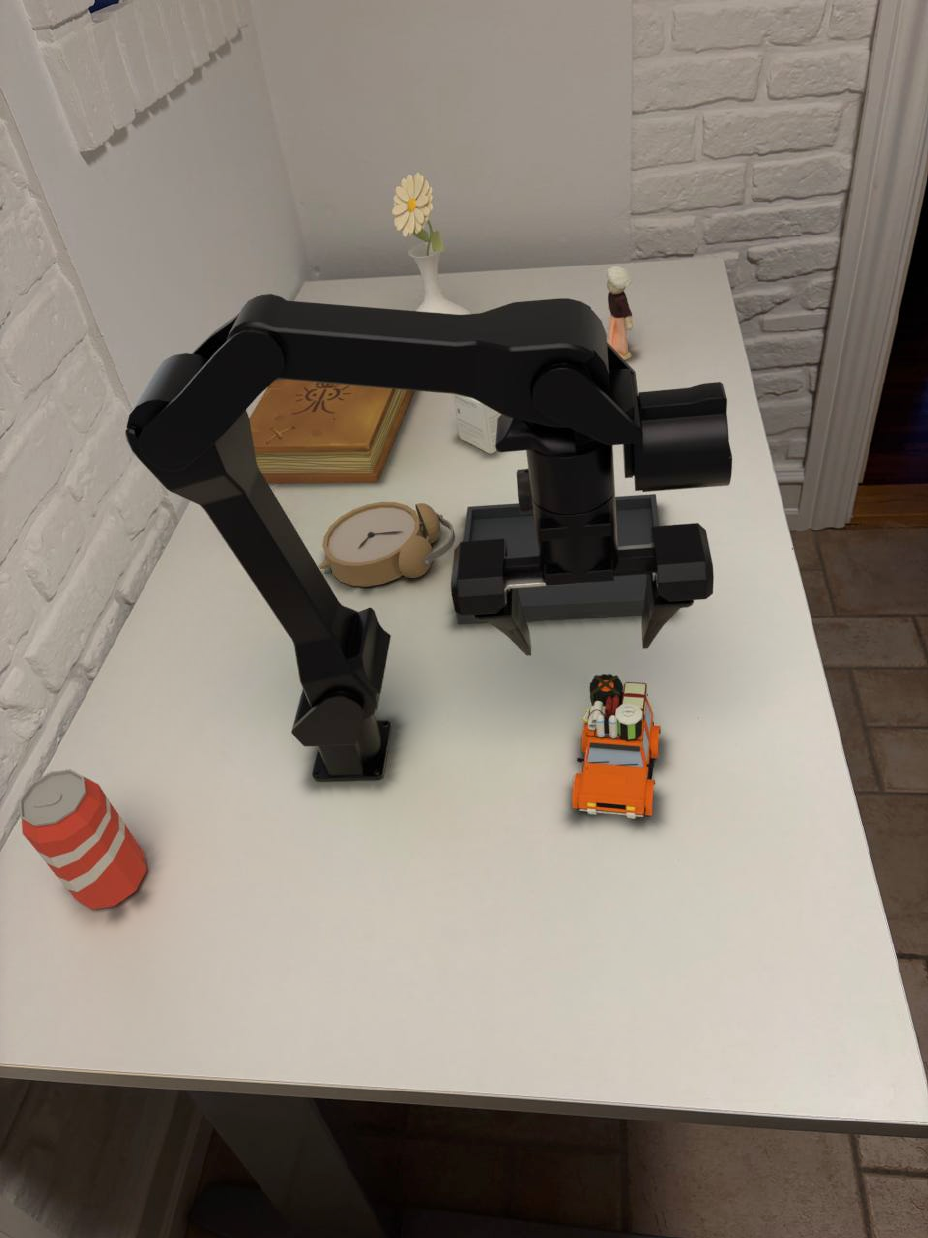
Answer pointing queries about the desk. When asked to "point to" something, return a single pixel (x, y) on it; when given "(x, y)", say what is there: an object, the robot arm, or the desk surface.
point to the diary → (325, 431)
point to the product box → (476, 423)
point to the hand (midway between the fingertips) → (586, 648)
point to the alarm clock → (383, 543)
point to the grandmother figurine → (619, 310)
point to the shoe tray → (572, 598)
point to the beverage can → (82, 838)
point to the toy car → (617, 750)
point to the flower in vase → (411, 219)
